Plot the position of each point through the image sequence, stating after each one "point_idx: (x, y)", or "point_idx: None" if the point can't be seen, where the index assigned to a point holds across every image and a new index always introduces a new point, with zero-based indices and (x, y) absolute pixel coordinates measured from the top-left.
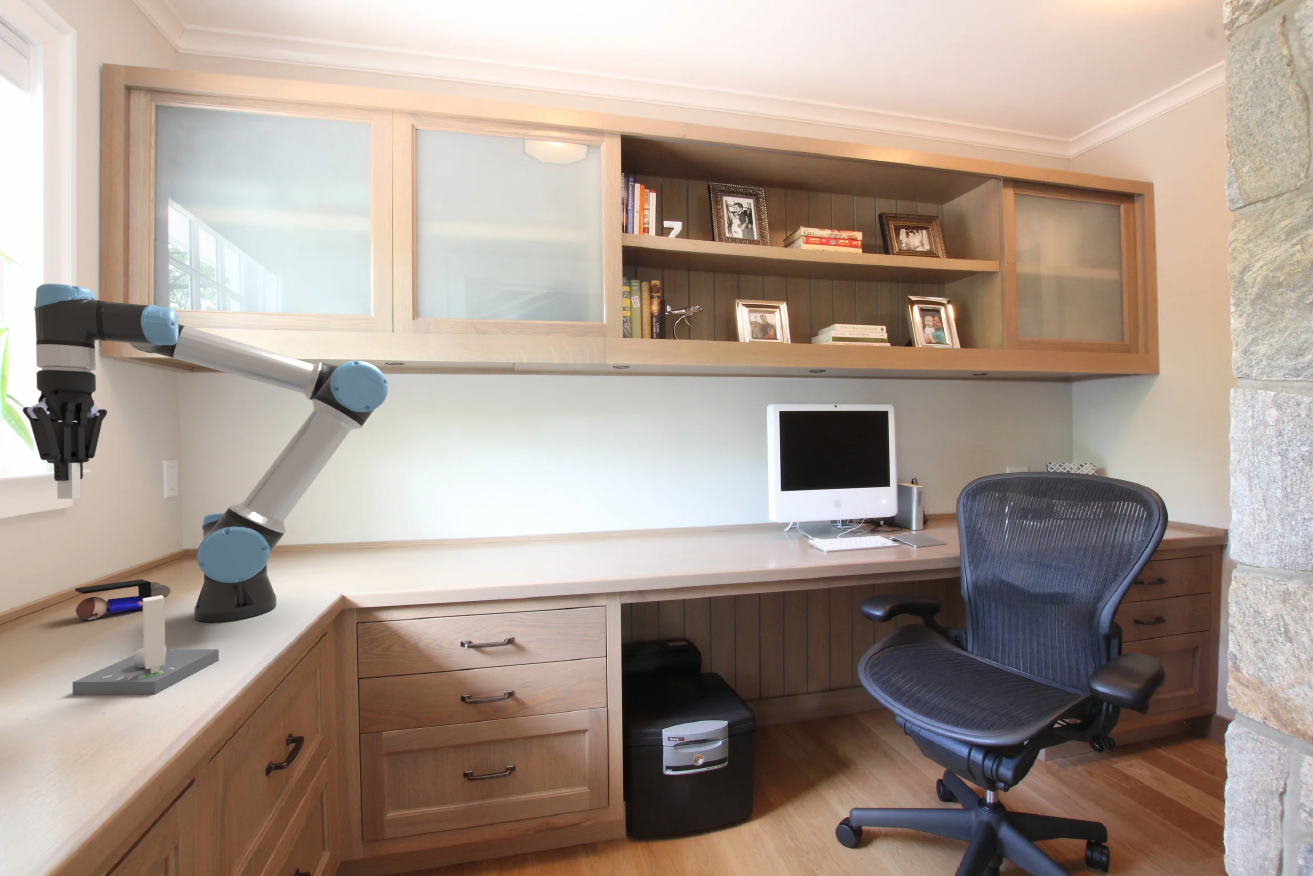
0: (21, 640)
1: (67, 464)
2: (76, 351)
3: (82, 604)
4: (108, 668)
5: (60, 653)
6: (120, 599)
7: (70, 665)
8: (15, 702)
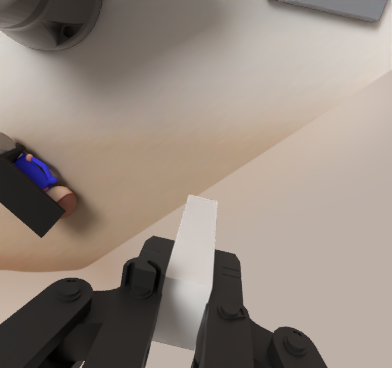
0: (141, 222)
1: (211, 300)
2: None
3: (66, 209)
4: (338, 2)
5: (201, 144)
6: (34, 180)
7: (252, 101)
8: (368, 81)
